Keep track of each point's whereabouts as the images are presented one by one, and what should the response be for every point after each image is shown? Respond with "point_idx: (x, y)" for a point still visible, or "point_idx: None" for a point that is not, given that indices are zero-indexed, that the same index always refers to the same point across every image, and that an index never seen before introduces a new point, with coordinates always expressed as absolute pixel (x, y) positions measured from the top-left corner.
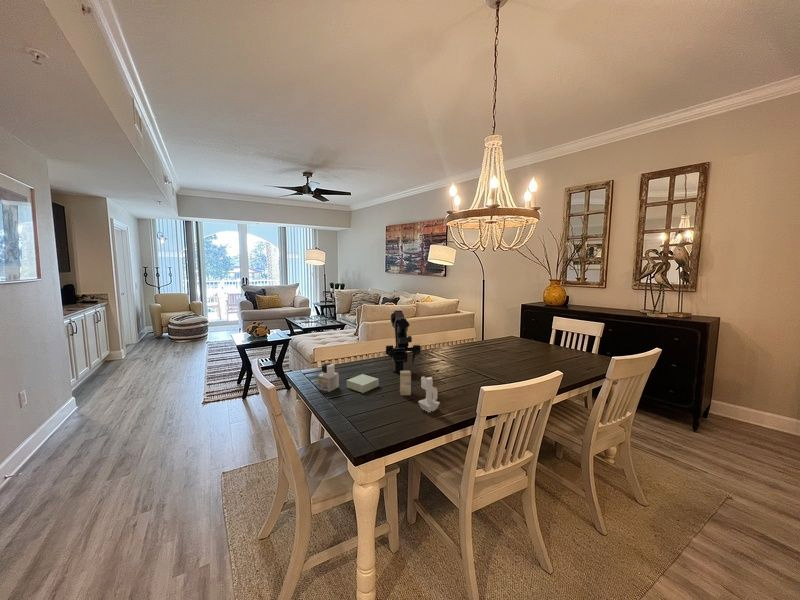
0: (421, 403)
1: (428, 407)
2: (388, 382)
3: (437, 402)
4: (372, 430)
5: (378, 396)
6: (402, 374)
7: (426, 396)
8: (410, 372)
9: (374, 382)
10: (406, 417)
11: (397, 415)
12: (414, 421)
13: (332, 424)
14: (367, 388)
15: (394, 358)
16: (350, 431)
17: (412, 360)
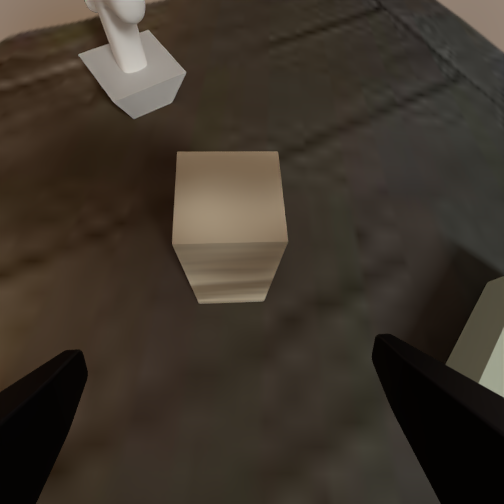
0: (171, 57)
1: (148, 35)
2: (360, 499)
3: (91, 56)
4: (352, 12)
5: (385, 234)
6: (263, 154)
7: (136, 27)
8: (175, 187)
9: (474, 365)
10: (244, 58)
11: (278, 72)
12: (218, 37)
13: (485, 45)
14: (485, 308)
15: (464, 389)
16: (415, 14)
17: (45, 379)
